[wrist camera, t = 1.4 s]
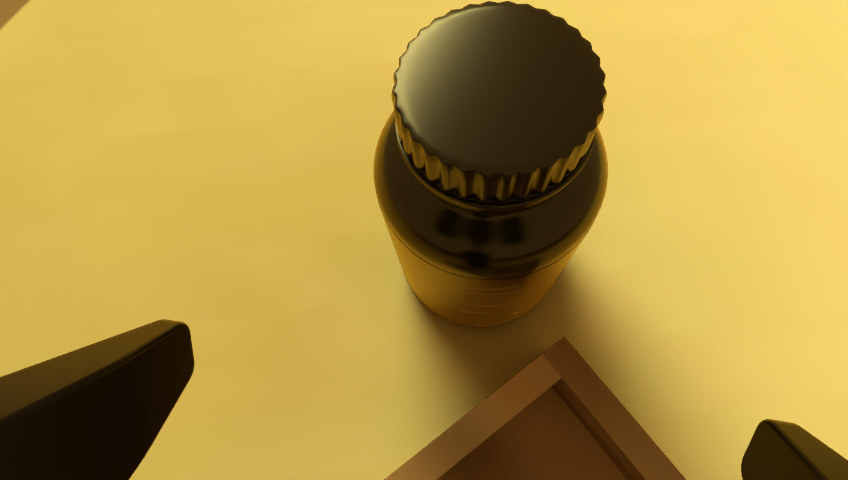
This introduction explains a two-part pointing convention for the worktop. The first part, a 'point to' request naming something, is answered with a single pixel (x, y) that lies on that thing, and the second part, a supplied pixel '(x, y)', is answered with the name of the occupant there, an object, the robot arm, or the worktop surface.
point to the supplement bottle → (491, 159)
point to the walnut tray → (544, 432)
